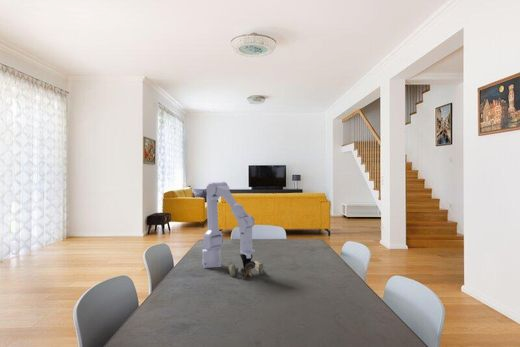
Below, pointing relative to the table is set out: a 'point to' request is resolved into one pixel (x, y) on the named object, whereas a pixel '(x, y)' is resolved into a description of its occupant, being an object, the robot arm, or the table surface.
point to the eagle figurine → (247, 269)
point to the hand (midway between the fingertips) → (246, 269)
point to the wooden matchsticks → (258, 267)
